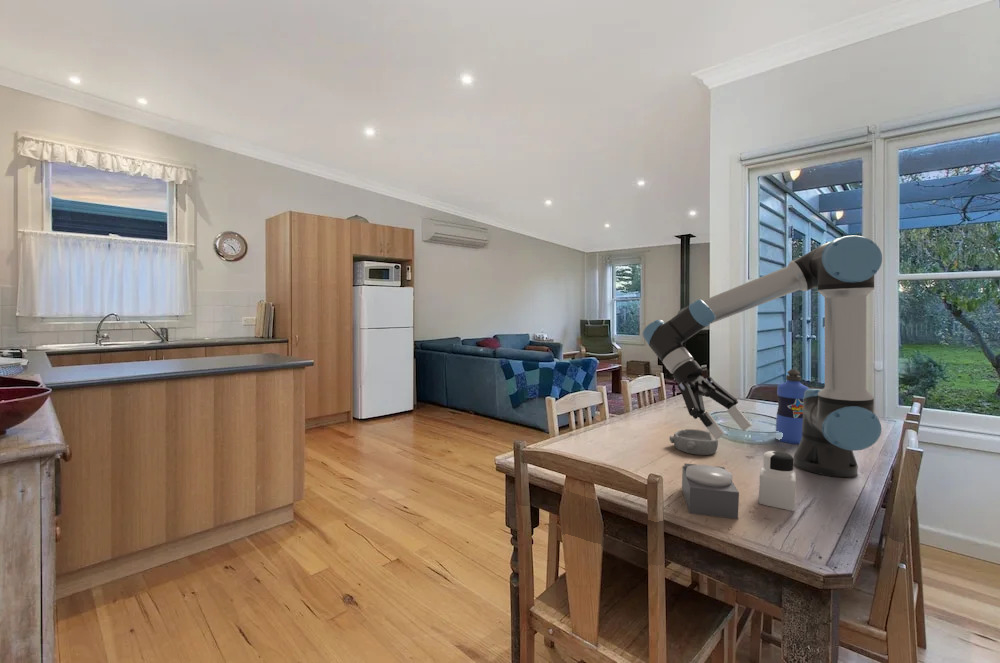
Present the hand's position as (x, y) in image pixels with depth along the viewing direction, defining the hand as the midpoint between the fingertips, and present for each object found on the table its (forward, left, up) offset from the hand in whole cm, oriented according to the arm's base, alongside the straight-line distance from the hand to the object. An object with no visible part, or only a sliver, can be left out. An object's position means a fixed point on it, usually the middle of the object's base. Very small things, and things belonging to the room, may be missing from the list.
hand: (734, 432), depth 116 cm
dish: (+5, -31, -15) cm, 35 cm away
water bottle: (-29, -51, -15) cm, 61 cm away
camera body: (+8, +12, -15) cm, 20 cm away
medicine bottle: (-8, +7, -15) cm, 18 cm away
